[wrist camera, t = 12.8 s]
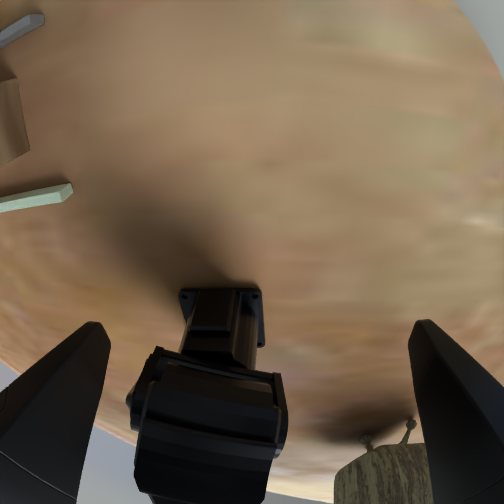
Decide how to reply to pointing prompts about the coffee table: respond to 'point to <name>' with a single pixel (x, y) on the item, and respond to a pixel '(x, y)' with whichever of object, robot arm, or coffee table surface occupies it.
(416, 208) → the coffee table surface
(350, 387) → the coffee table surface
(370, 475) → the tabletop clock
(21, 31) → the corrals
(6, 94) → the walnut block
